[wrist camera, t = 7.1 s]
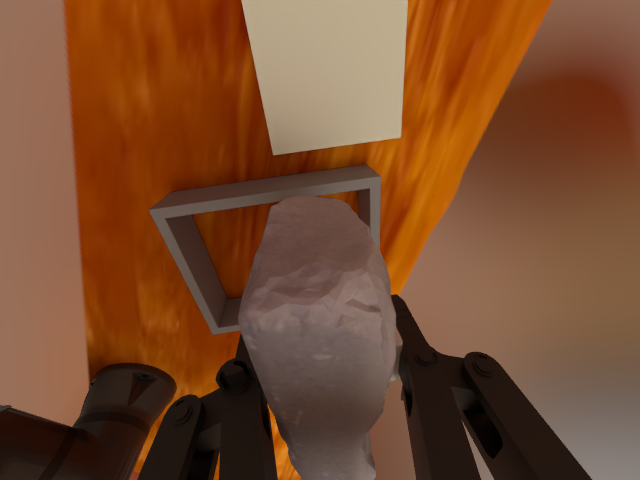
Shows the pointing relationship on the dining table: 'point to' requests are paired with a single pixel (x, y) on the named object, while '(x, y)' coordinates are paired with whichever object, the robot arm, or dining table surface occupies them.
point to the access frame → (180, 206)
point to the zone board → (328, 70)
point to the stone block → (321, 334)
